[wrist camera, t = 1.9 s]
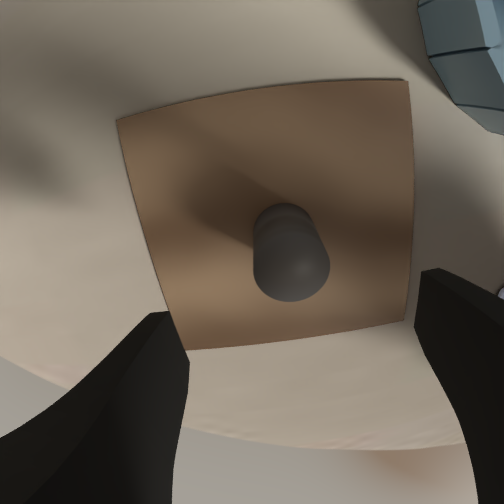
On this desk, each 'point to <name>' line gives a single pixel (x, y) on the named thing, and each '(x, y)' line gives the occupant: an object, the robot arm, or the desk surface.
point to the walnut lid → (277, 209)
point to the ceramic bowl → (468, 54)
